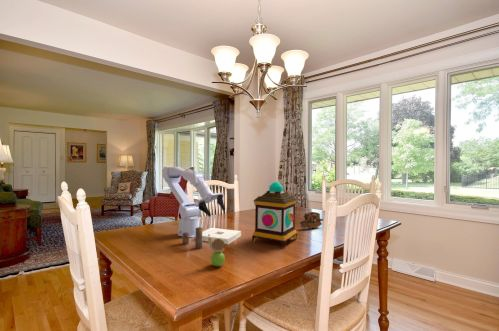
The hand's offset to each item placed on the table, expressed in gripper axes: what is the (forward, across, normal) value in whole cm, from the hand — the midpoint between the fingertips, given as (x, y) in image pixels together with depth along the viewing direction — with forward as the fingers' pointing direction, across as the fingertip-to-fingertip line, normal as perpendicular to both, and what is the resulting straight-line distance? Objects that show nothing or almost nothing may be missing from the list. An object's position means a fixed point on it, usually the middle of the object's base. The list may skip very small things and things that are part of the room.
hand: (217, 212), depth 124 cm
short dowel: (+2, -16, +14) cm, 21 cm away
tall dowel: (+9, -13, +9) cm, 18 cm away
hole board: (+4, +1, +19) cm, 19 cm away
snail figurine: (+25, -14, -7) cm, 30 cm away
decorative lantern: (+22, +23, +11) cm, 33 cm away
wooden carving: (+22, +56, +24) cm, 65 cm away
